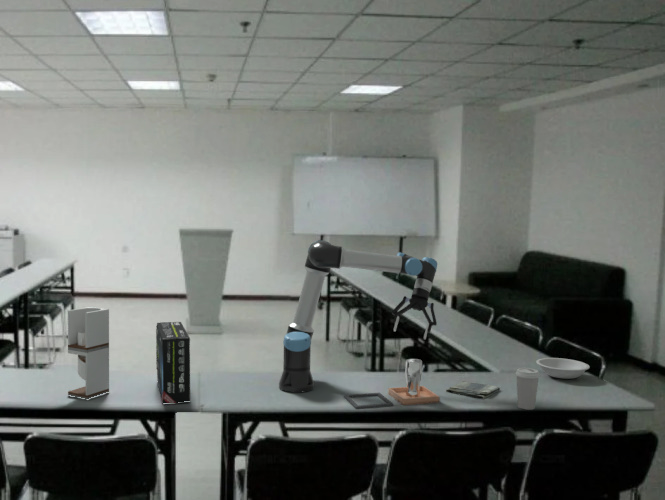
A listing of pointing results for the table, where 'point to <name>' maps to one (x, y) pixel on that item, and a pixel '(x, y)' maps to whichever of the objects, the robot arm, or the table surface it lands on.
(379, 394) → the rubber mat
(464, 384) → the dish towel
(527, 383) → the coffee cup
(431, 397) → the terracotta tray
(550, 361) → the soup bowl
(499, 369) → the table surface
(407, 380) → the beer glass
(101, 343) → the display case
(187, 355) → the router box
